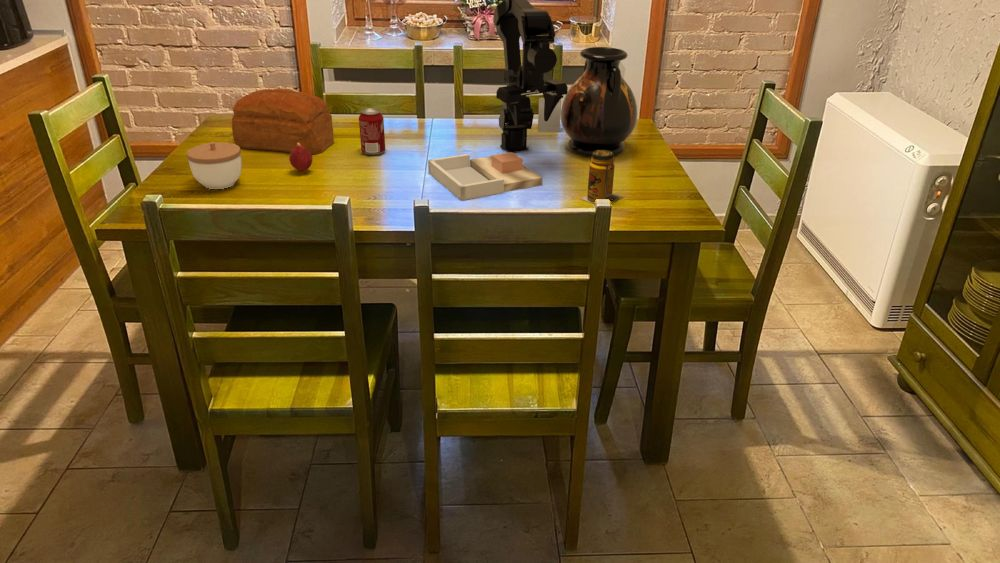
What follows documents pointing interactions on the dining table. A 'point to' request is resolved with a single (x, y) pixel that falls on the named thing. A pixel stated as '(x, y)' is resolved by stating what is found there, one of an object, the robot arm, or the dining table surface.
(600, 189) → the condiment
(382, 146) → the soda can
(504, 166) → the block
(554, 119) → the grey rectangular box
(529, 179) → the wooden board
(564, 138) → the dining table surface
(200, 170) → the lidded bowl
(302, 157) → the onion
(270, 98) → the bread
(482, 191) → the box
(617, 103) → the amphora vase
